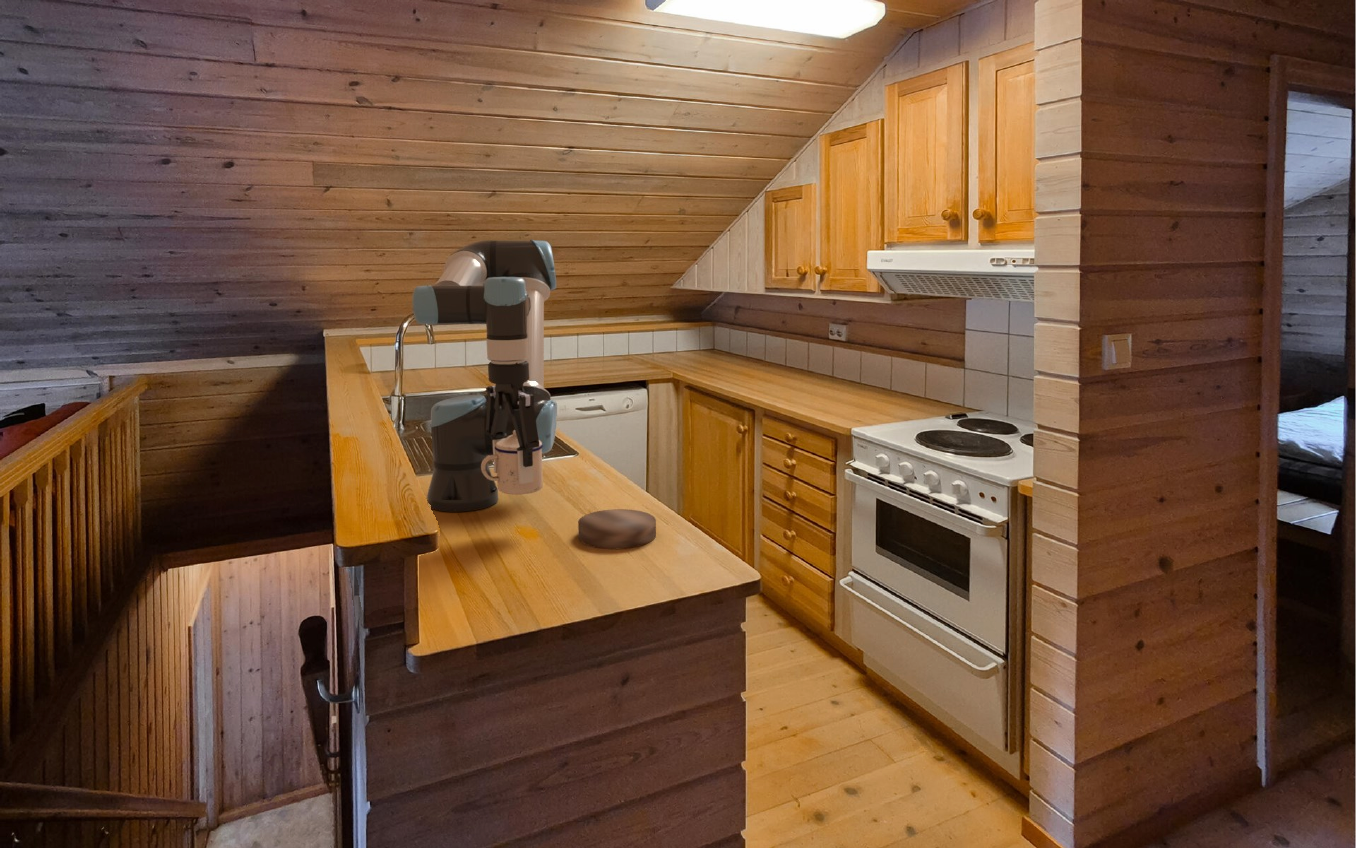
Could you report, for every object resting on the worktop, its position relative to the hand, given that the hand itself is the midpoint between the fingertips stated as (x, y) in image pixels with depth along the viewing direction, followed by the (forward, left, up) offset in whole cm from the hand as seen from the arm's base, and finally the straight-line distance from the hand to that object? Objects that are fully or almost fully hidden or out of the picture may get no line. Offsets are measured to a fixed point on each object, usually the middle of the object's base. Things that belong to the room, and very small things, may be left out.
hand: (513, 476), depth 163 cm
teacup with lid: (0, 0, -3) cm, 3 cm away
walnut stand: (+15, -13, -12) cm, 23 cm away
